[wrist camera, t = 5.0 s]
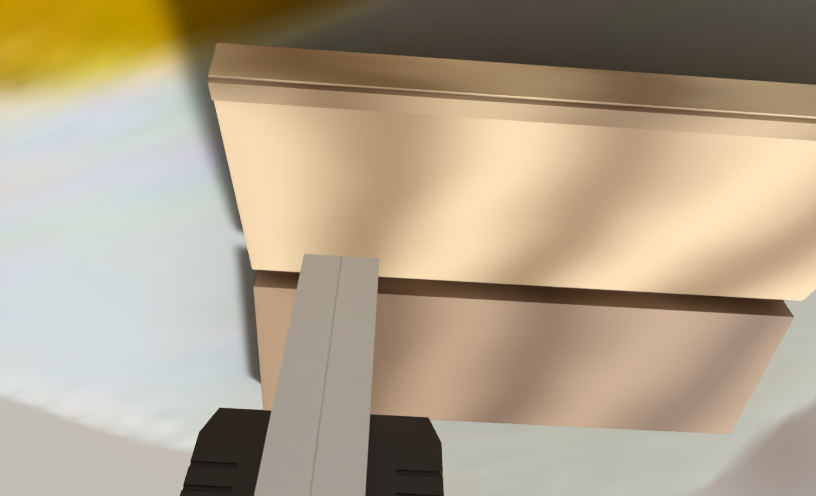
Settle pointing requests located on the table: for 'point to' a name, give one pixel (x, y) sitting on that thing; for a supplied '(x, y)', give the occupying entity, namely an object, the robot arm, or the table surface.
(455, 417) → the laid strip
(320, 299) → the robot arm
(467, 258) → the plank
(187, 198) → the table surface
